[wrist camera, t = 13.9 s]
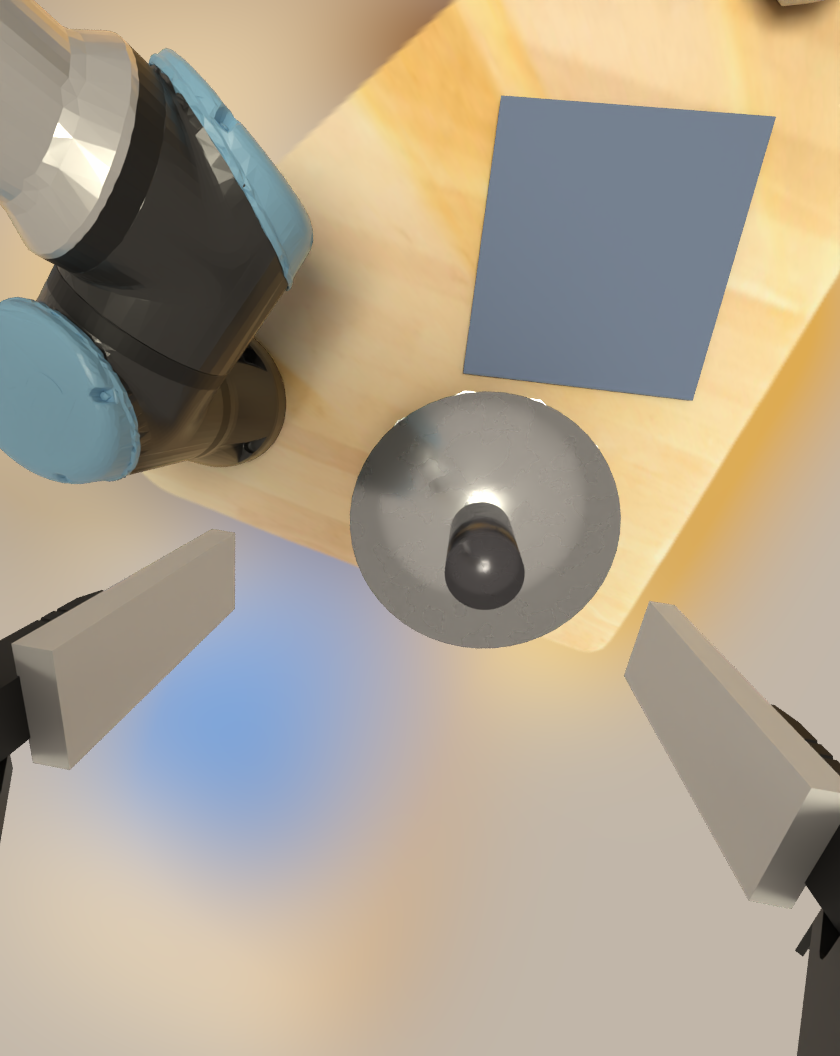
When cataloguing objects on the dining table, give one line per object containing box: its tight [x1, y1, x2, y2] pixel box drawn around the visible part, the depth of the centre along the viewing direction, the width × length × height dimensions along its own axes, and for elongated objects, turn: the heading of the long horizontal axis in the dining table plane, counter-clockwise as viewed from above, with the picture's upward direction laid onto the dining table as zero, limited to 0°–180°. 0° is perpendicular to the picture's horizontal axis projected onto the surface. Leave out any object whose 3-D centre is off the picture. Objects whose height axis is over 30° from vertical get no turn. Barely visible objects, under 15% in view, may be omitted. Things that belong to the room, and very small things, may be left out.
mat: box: [463, 96, 776, 400], centre depth 42 cm, size 23×23×1 cm
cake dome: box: [350, 391, 621, 648], centre depth 39 cm, size 22×22×23 cm
